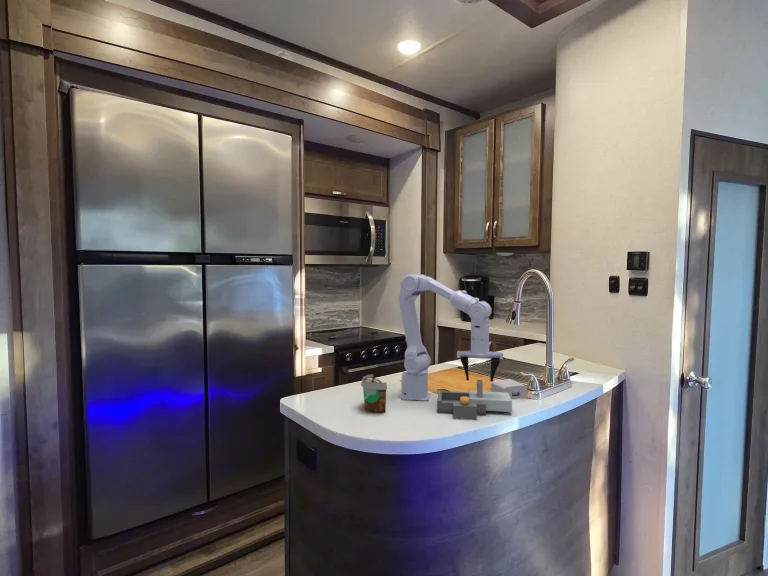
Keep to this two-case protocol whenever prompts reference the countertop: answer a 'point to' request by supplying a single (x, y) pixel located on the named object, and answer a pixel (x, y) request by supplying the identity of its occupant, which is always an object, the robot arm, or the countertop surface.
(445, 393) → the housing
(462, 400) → the plunger
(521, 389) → the charger
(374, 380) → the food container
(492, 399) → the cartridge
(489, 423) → the countertop surface
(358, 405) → the countertop surface
